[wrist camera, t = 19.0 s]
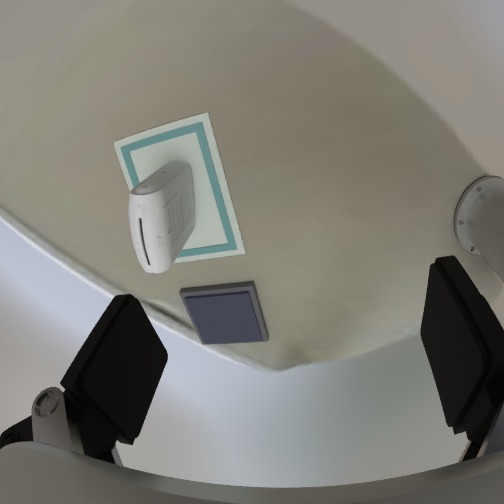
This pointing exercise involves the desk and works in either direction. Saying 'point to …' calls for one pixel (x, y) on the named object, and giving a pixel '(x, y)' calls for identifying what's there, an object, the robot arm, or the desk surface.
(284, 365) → the desk surface
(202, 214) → the teal bordered white mat
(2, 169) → the desk surface
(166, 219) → the photo printer
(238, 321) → the ink pad
